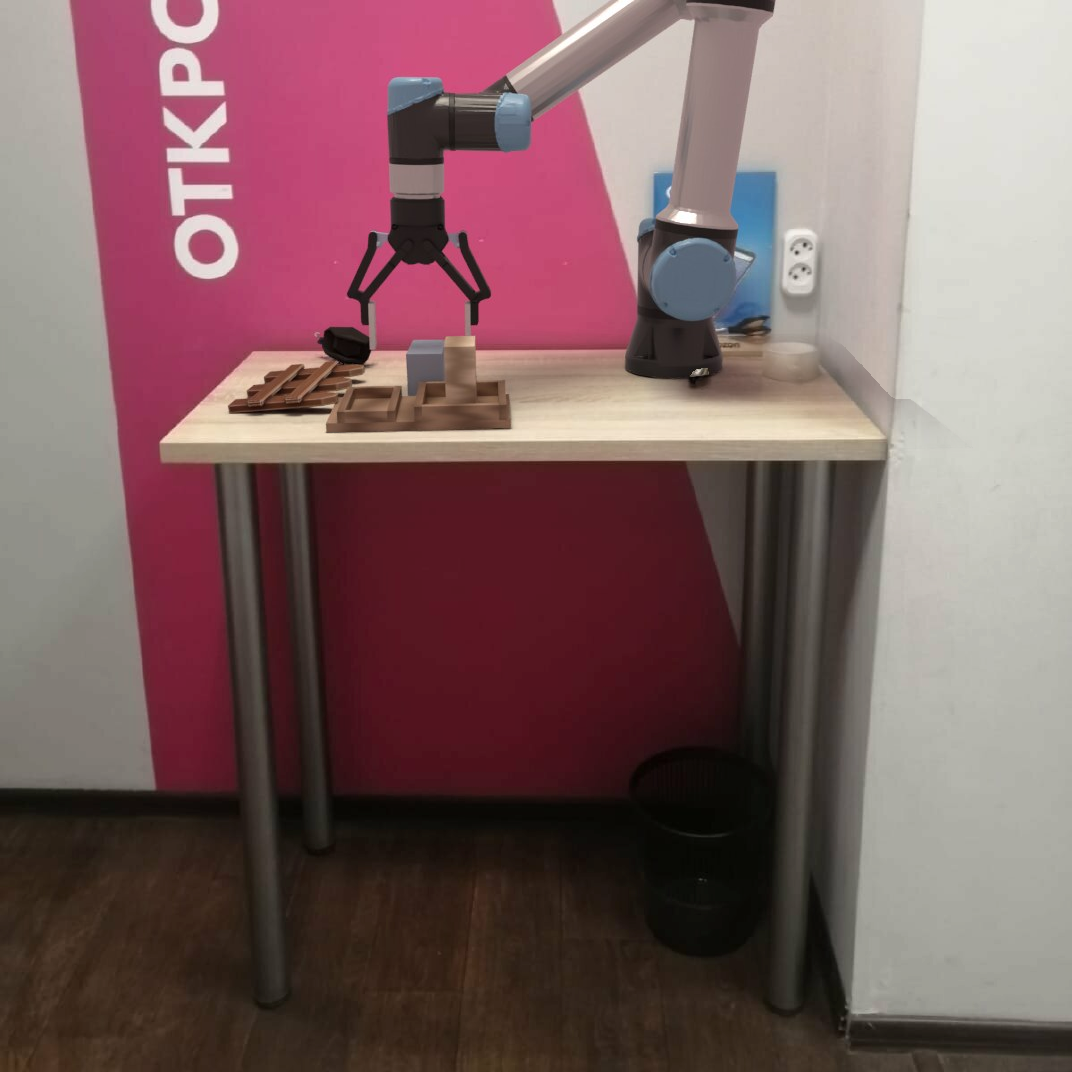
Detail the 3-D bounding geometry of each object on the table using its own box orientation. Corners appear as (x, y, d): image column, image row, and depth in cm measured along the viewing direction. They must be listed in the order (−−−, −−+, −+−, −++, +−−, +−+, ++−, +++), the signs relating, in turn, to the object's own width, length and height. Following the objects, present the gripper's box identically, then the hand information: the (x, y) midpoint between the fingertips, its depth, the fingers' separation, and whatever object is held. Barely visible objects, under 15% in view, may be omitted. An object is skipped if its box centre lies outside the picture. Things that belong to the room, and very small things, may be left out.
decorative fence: (226, 415, 174) (333, 407, 172) (224, 403, 173) (331, 394, 172) (272, 377, 195) (367, 369, 194) (271, 366, 195) (366, 358, 193)
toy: (368, 341, 213) (382, 333, 199) (359, 378, 213) (372, 372, 199) (315, 326, 211) (324, 316, 196) (305, 363, 211) (314, 356, 196)
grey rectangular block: (448, 386, 189) (447, 339, 187) (443, 402, 180) (441, 353, 177) (415, 386, 189) (413, 339, 187) (408, 402, 180) (405, 354, 177)
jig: (509, 402, 179) (508, 380, 178) (510, 428, 166) (510, 404, 165) (338, 405, 178) (336, 383, 177) (326, 432, 165) (324, 408, 164)
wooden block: (477, 400, 175) (475, 335, 172) (476, 413, 168) (474, 346, 165) (448, 401, 175) (445, 336, 172) (446, 414, 168) (443, 346, 165)
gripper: (507, 193, 179) (507, 342, 186) (329, 192, 178) (336, 342, 185) (508, 198, 172) (507, 353, 179) (323, 197, 171) (330, 353, 178)
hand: (420, 348), depth 182 cm, fingers open, 13 cm apart
